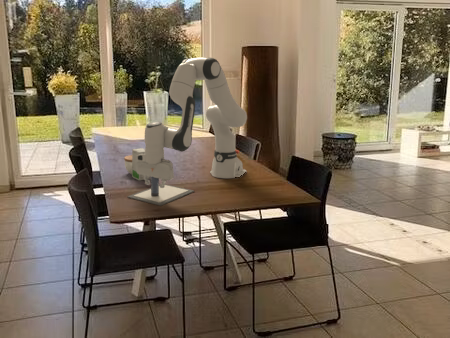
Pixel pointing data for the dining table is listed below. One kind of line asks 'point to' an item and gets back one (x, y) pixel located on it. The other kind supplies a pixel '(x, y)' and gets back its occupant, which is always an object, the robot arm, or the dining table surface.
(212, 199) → the dining table surface
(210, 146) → the dining table surface
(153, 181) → the marker
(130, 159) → the lidded bowl
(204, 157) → the dining table surface
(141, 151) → the skincare box
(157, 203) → the mat
